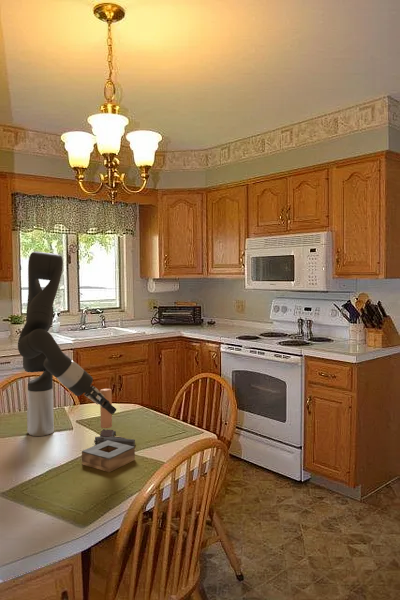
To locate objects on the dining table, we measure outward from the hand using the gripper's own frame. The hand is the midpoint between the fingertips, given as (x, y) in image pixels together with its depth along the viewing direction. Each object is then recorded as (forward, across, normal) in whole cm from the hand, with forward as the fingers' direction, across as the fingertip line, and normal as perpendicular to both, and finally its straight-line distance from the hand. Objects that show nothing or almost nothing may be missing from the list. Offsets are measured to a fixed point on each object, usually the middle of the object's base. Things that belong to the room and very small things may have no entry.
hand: (112, 410), depth 159 cm
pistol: (+18, +18, +7) cm, 27 cm away
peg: (+2, 0, +5) cm, 5 cm away
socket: (+11, 0, +13) cm, 17 cm away
